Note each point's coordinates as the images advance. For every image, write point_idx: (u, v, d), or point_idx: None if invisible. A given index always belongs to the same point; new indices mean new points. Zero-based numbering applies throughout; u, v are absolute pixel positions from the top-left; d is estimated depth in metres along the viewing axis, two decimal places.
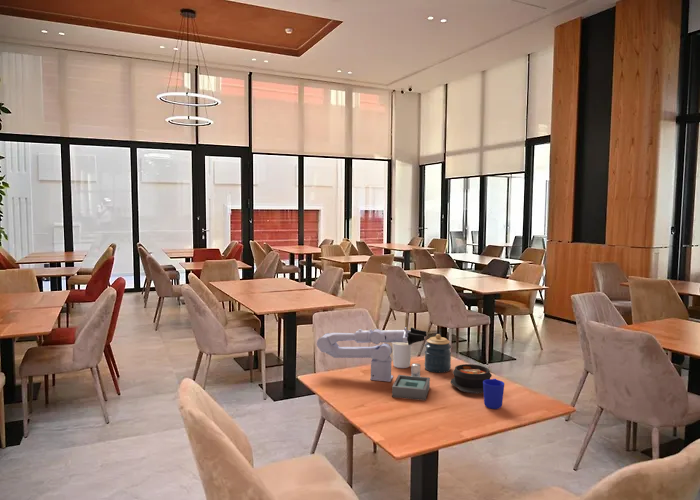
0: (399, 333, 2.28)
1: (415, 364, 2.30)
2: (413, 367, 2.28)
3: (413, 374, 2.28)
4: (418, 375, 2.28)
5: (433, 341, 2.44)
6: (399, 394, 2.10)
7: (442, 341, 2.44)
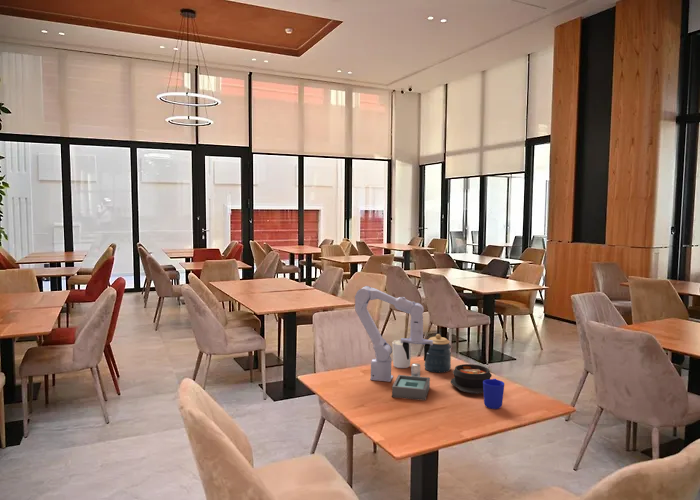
0: (411, 335, 2.27)
1: (415, 364, 2.30)
2: (413, 367, 2.28)
3: (413, 374, 2.28)
4: (418, 375, 2.28)
5: (433, 341, 2.44)
6: (399, 394, 2.10)
7: (442, 341, 2.44)
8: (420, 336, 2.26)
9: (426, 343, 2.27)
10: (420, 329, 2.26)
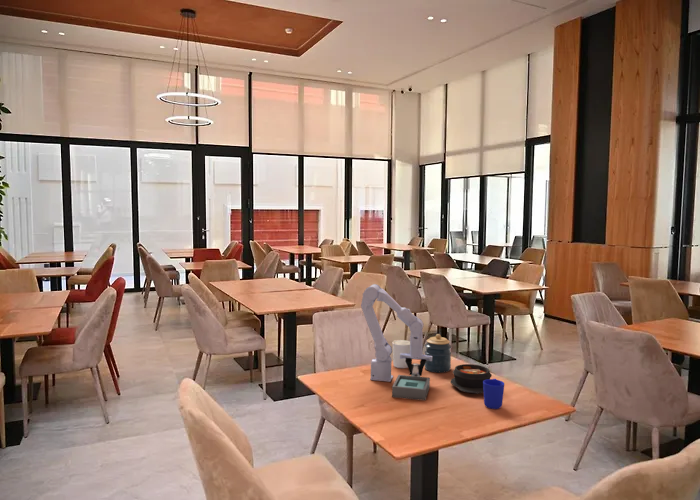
0: (411, 351, 2.28)
1: (415, 364, 2.30)
2: (413, 367, 2.28)
3: (413, 374, 2.28)
4: (418, 375, 2.28)
5: (433, 341, 2.44)
6: (399, 394, 2.10)
7: (442, 341, 2.44)
8: (419, 352, 2.26)
9: (425, 359, 2.28)
10: (420, 345, 2.26)
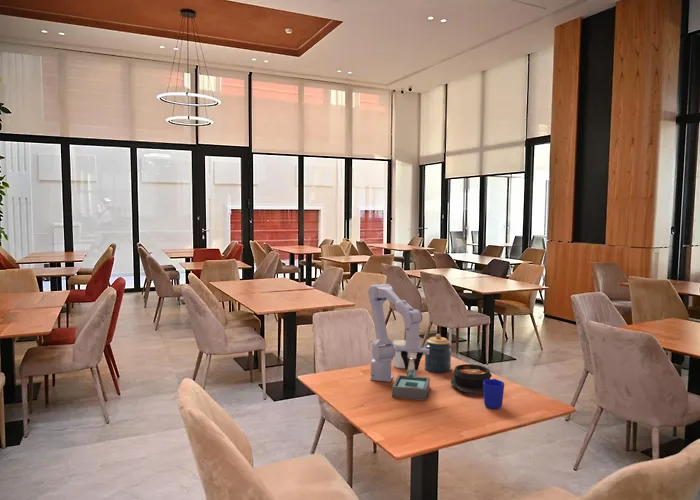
0: (406, 343, 2.13)
1: (411, 358, 2.16)
2: (409, 361, 2.14)
3: (409, 368, 2.14)
4: (414, 369, 2.14)
5: (433, 341, 2.44)
6: (399, 394, 2.10)
7: (442, 341, 2.44)
8: (415, 345, 2.12)
9: (422, 352, 2.14)
10: (411, 337, 2.12)
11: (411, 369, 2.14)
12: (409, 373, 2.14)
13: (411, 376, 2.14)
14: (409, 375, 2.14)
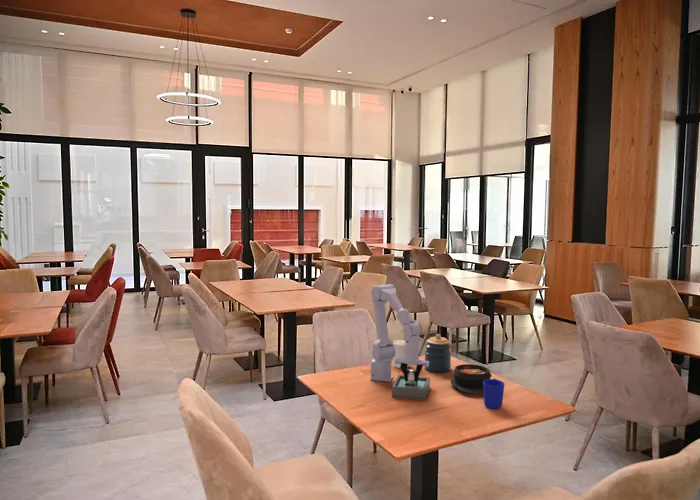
0: (406, 356, 2.14)
1: (411, 370, 2.16)
2: (409, 373, 2.15)
3: (409, 380, 2.15)
4: (414, 381, 2.15)
5: (433, 341, 2.44)
6: (399, 394, 2.10)
7: (442, 341, 2.44)
8: (415, 357, 2.13)
9: (422, 364, 2.14)
10: (411, 349, 2.12)
11: (411, 381, 2.14)
12: (409, 385, 2.15)
13: None
14: None
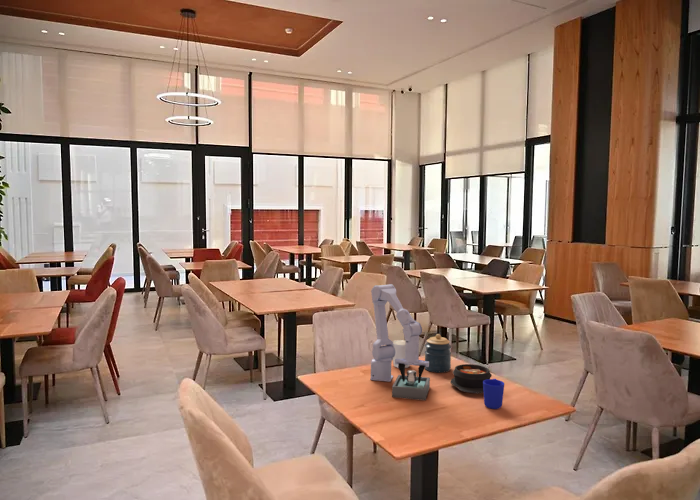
0: (406, 356, 2.14)
1: (411, 371, 2.16)
2: (409, 374, 2.15)
3: (409, 382, 2.15)
4: (414, 383, 2.15)
5: (433, 341, 2.44)
6: (399, 394, 2.10)
7: (442, 341, 2.44)
8: (415, 357, 2.13)
9: (422, 364, 2.14)
10: (411, 350, 2.12)
11: (411, 382, 2.14)
12: None
13: None
14: None
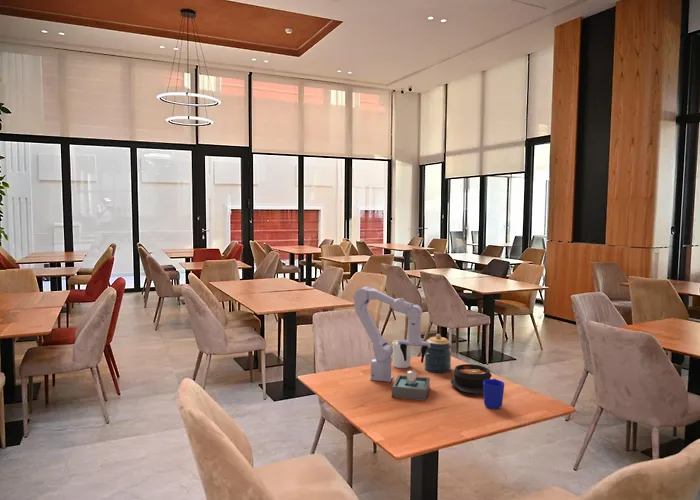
0: (409, 337, 2.26)
1: (411, 371, 2.16)
2: (408, 374, 2.15)
3: (409, 382, 2.15)
4: (414, 383, 2.15)
5: (433, 341, 2.44)
6: (399, 394, 2.10)
7: (442, 341, 2.44)
8: (417, 338, 2.25)
9: (423, 345, 2.26)
10: (417, 331, 2.24)
11: (411, 382, 2.14)
12: None
13: None
14: None
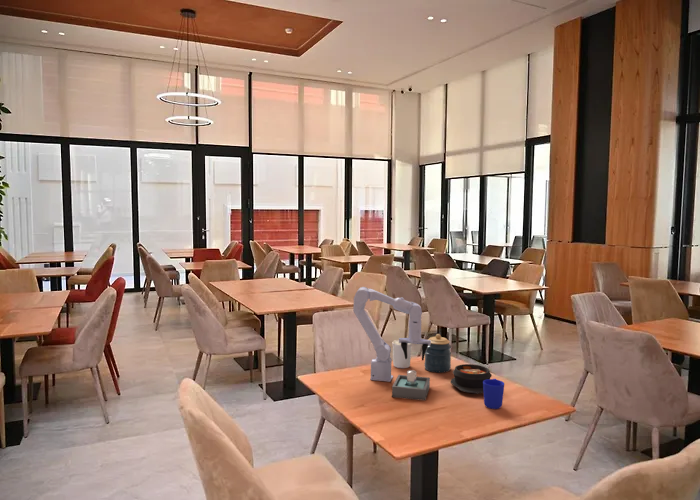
0: (409, 335, 2.29)
1: (411, 371, 2.16)
2: (409, 374, 2.15)
3: (409, 382, 2.15)
4: (414, 383, 2.15)
5: (433, 341, 2.44)
6: (399, 394, 2.10)
7: (442, 341, 2.44)
8: (418, 336, 2.28)
9: (424, 343, 2.29)
10: (419, 329, 2.28)
11: (411, 382, 2.14)
12: None
13: None
14: None
